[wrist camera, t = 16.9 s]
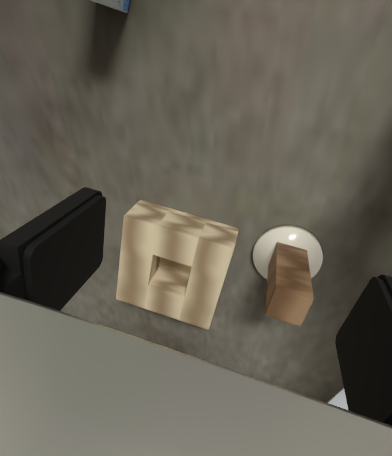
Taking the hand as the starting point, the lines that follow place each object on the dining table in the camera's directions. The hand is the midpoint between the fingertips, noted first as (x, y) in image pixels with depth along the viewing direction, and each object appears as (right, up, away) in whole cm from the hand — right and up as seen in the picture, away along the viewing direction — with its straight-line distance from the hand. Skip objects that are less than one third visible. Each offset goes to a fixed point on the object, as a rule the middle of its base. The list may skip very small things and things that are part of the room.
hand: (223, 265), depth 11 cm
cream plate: (+13, -3, +37) cm, 39 cm away
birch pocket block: (-4, -3, +41) cm, 42 cm away
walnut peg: (+13, -3, +36) cm, 38 cm away
